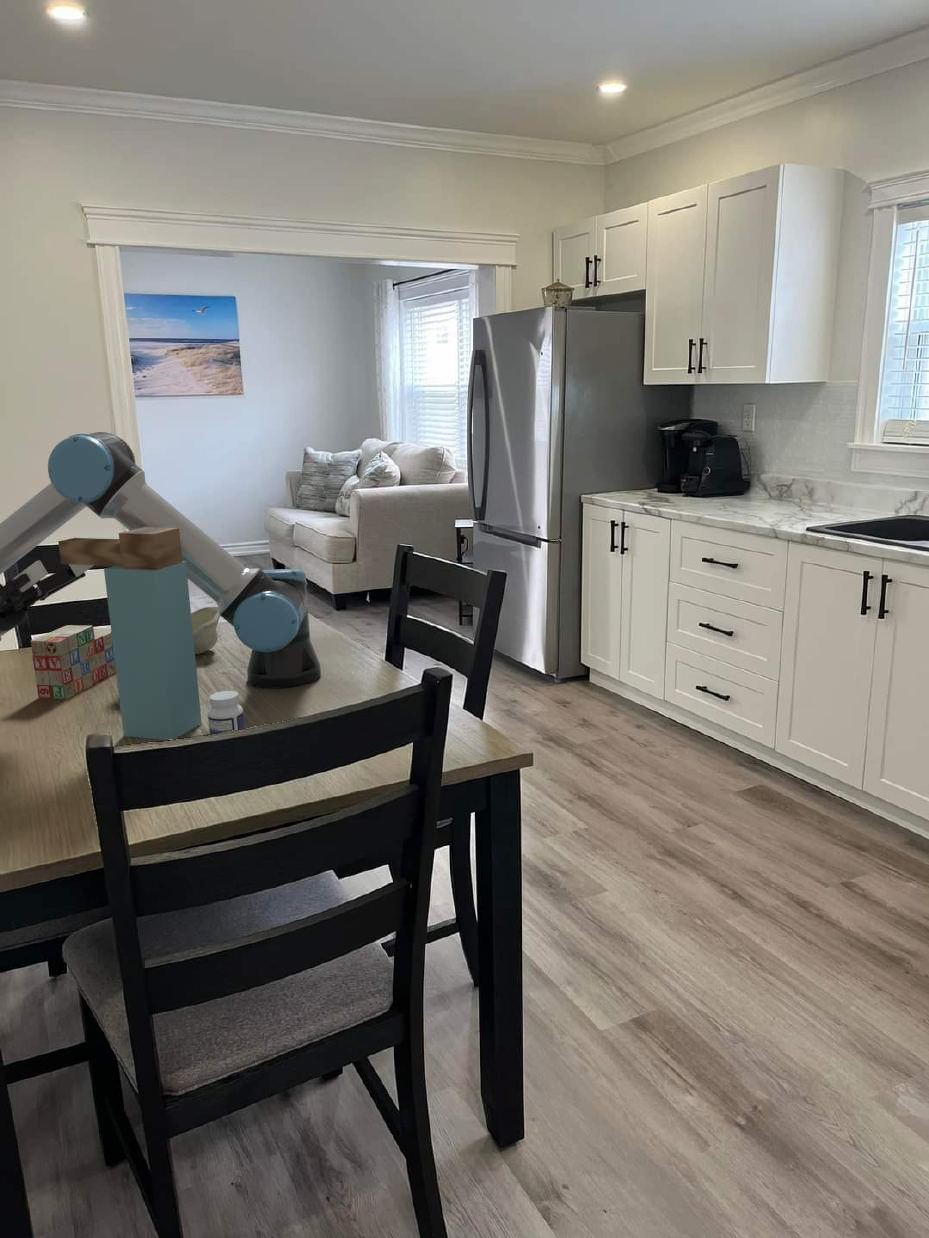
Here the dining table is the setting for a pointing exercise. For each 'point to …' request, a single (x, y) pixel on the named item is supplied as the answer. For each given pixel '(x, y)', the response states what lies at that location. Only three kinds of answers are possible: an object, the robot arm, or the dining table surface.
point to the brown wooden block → (126, 549)
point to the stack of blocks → (72, 660)
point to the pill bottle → (225, 712)
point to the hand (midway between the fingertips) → (70, 560)
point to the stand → (153, 650)
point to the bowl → (204, 628)
